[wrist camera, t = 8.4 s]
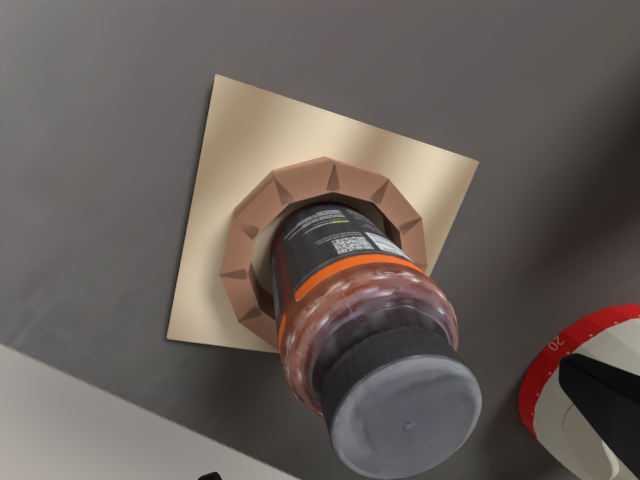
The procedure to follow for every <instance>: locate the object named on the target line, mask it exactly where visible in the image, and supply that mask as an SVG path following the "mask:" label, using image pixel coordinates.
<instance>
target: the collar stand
mask: <svg viewBox="0 0 640 480" xmlns="http://www.w3.org/2000/svg"><path fill="white" fill-rule="evenodd" d="M478 164H479V161H476V160H473V159H470V158H467V157H464V156H461V155H458V154H455V153H452V152H449V151H446V150H443V149H440V148H437V147H434V146H431V145H428V144H425V143H422V142H419V141H416V140H413V139H410V138H407V137H404V136H401V135H398V134H395V133H392V132H389V131H386V130H383V129H380V128H377V127H374V126H371V125H368V124H365V123H362V122H359V121H356V120H353V119H350V118H347V117H344V116H341V115H338V114H335V113H332V112H329V111H326V110H323V109H320V108H317V107H314V106H311V105H308V104H305V103H302V102H299V101H296V100H293V99H290V98H287V97H284V96H281V95H278V94H275V93H272V92H269V91H266V90H263V89H260V88H257V87H254V86H251V85H248V84H245V83H242V82H239V81H236V80H233V79H230V78H227V77H224V76H221V75H218V74H216V75H215V80H214V86H213V91H212V96H211V102H210V107H209V113H208V118H207V123H206V129H205V134H204V140H203V145H202V150H201V156H200V161H199V166H198V172H197V177H196V183H195V188H194V193H193V199H192V204H191V210H190V215H189V220H188V226H187V231H186V236H185V242H184V247H183V253H182V258H181V263H180V269H179V274H178V280H177V285H176V290H175V296H174V301H173V307H172V312H171V317H170V323H169V328H168V333H167V339H172V340H179V341H187V342H195V343H202V344H210V345H218V346H226V347H233V348H241V349H249V350H256V351H264V352H272V353H279V354H280V351H279V342H278V335H277V328H276V316H275V308H274V299H273V289H272V281H271V271H270V247H271V243H272V240H273V238H274V235H275V233H276V231H277V230H278V228H279V227H280V225H281V224H282V222H283V221H284V220H285V219H286V218H287V217H288V216H289V215H290V214H292V213H293V212H294V211H296V210H298V209H300V208H301V207H304V206H306V205H309V204H312V203H316V202H322V201H325V202H328V201H330V202H340V203H343V204H346V205H348V206H350V207H352V208H354V209H356V210H357V211H359V212H360V213H362V214H363V215H364V216H365V217H367V218H368V219H369V220H370V221H371V222H372V223H373V224H374V225H375V226H376V227H377V228H378V229H379V230H380V231H381V232H382V233H383V234H384V235H385V236H386V237H387V238H389V239H390V240H391V241H392V242H393V243H394V244H395V245H396V246H397V247H398V248H399V249H400V250H401V251H402V252H403V253H404V254H405V255H406V256H408V257H409V258H410V259H411V260H412V261H413V262H414V263H415V264H416V265H417V266H418V267H419V268H420V269H421V270H422V271H423V272H424V273H425V274H426V275H427V276H428V277H429V276H430V274H431V272H432V270H433V267H434V265H435V263H436V260H437V258H438V256H439V253H440V251H441V249H442V247H443V244H444V242H445V240H446V237H447V235H448V233H449V231H450V228H451V226H452V224H453V221H454V219H455V217H456V214H457V212H458V210H459V208H460V205H461V203H462V201H463V198H464V196H465V194H466V191H467V189H468V187H469V185H470V182H471V180H472V178H473V175H474V173H475V171H476V169H477V166H478Z"/></svg>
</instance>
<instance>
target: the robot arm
mask: <svg viewBox="0 0 640 480" xmlns="http://www.w3.org/2000/svg"><path fill="white" fill-rule="evenodd" d="M558 381H559V384H560V387H561V388H562V390H563V391H564V393H565V394H566V395H567V396H568V398H569V399H570V400H571V401H572V403H573V404H574V405H575V406H576V408H577V409H578V410H579V411H580V413H581V414H582V415H583V416H584V418H585V419H586V420H587V421H588V423H589V424H590V425H591V427H592V428H593V429H594V430H595V432H596V433H597V434H598V435H599V437H600V438H601V439H602V440H603V441H604V443H605V444H606V445H607V446H608V447H609V449H610V450H611V451H612V452H613V453H614V454H615V455H616V456H617V457H618V458H619V460H620V461H621V462H622V463H623V464H624V465H625V466H626V467H627V468H628V469H629V470H630V471H631V472H632V473H633V475H634V476H635V477H636V478H637V479H638V480H640V376H639V375H636V374H633V373H631V372H628V371H625V370H623V369H620V368H617V367H615V366H612V365H609V364H606V363H604V362H601V361H598V360H596V359H593V358H590V357H588V356H585V355H582V354H579V353H572V354H569V355H566V356H563V357H561V359H560V361H559V375H558ZM198 480H222V479H221V477H220V475H219V474H218V473H217V472H212V473H209V474H206V475H203V476H201V477H200V478H199V479H198Z"/></svg>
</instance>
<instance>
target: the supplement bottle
mask: <svg viewBox="0 0 640 480" xmlns="http://www.w3.org/2000/svg"><path fill="white" fill-rule="evenodd" d="M270 271H271V281H272V289H273V299H274V308H275V316H276V328H277V335H278V342H279V351H280V358H281V364H282V368H283V372H284V376H285V378H286V381H287V383H288V385H289V387H290V389H291V390H292V392H293V394H294V396H295V397H297V399H298V400H299V401H300V403H301V404H303V405H304V406H305V407H306V408H308V409H309V410H310V411H312V412H313V413H314V414H315V415H317V416H319V417H321V418H323V419H325V421H326V424H327V428H328V432H329V437H330V441H331V446H332V448H333V450H334V452H335V454H336V455H337V457H338V458H339V460H340V461H341V462H342V463H343V464H344V465H345V466H346V467H348V468H349V469H350V470H352V471H354V472H356V473H357V474H359V475H363V476H367V477H370V478H377V479H384V480H390V479H397V478H405V477H408V476H412V475H415V474H419V473H422V472H424V471H426V470H428V469H431V468H433V467H435V466H437V465H439V464H440V463H442V462H443V461H444V460H446V459H447V458H448V457H450V456H451V455H452V454H453V453H455V452H456V451H457V450H458V449H459V448H460V447H461V446H462V445H463V444H464V443H465V441H466V440H467V439H468V437H469V436H470V434H471V433H472V431H473V430H474V428H475V426H476V424H477V421H478V418H479V415H480V411H481V407H482V397H481V391H480V388H479V385H478V382H477V380H476V378H475V376H474V375H473V374H472V372H471V371H470V370H469V368H468V367H467V366H466V364H465V363H464V362H463V361H462V360H461V359H460V357H459V356H458V355H457V353H456V352H457V347H458V337H459V336H458V326H457V320H456V317H455V313H454V310H453V308H452V306H451V304H450V301H449V300H448V298H447V297H446V296H445V294H444V292H443V291H442V290H441V289H440V288H439V287H438V285H437V284H436V283H435V282H434V281H433V280H432V279H431V278H429V277H428V276H427V275H426V274H425V273H424V272H423V271H422V270H421V269H420V268H419V267H418V266H417V265H416V264H415V263H414V262H413V261H412V260H411V259H410V258H409V257H408V256H406V255H405V254H404V253H403V252H402V251H401V250H400V249H399V248H398V247H397V246H396V245H395V244H394V243H393V242H392V241H391V240H390V239H389V238H387V237H386V236H385V235H384V234H383V233H382V232H381V231H380V230H379V229H378V228H377V227H376V226H375V225H374V224H373V223H372V222H371V221H370V220H369V219H368V218H367V217H365V216H364V215H363V214H362V213H360V212H359V211H357V210H356V209H354V208H352V207H350V206H348V205H346V204H343V203H340V202H330V201H328V202H325V201H322V202H316V203H312V204H309V205H306V206H304V207H301V208H300V209H298V210H296V211H294V212H293V213H292V214H290V215H289V216H288V217H287V218H286V219H285V220H284V221H283V222H282V224H281V225H280V227H279V228H278V230H277V231H276V233H275V235H274V238H273V240H272V243H271V247H270Z"/></svg>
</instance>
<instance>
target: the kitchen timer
mask: <svg viewBox="0 0 640 480" xmlns="http://www.w3.org/2000/svg"><path fill="white" fill-rule="evenodd" d="M572 353H579V354H582V355H585V356H588V357H590V358H593V359H596V360H598V361H601V362H604V363H606V364H609V365H612V366H615V367H617V368H620V369H623V370H625V371H628V372H631V373H633V374H636V375H639V376H640V306H638V305H633V304H629V305H622V306H614V307H608V308H606V309H603V310H600V311H598V312H595V313H593V314H590V315H588V316H585V317H583V318H582V319H580V320H579V321H577V322H576V323H574V324H573V325H571V326H569V327H568V328H566V329H565V330H563V331H562V332H561V333H560V334H559V335H558V336H556V337H555V338H554V339H553V340H552V341H551V342H550V343H549V344H548V345H547V346H546V347H545V348H544V349H543V350H542V351H541V352H540V354H539V355H538V357H537V358H536V359H535V361H534V362H533V364H532V365H531V367H530V368H529V369H528V371H527V374H526V376H525V379H524V381H523V384H522V386H521V389H520V393H519V405H518V409H519V412H520V415H521V418H522V422H523V424H524V425H525V426H526V427H527V428H528V430H529V431H530V432H531V433H532V434H533V435H534V437H535V438H536V439H537V440H538V441H539V442H540V443H541V444H542V445H543V446H544V447H545V448H546V449H547V450H548V451H549V452H550V453H551V454H552V455H553V456H554V457H555V458H556V459H557V460H558V461H559V462H560V463H561V464H563V465H564V466H565V467H566V468H567V469H569V470H570V471H571V472H572V473H574V474H575V475H576V476H578V477H579V478H580V479H582V480H638V479H637V478H636V477H635V476H634V475H633V473H632V472H631V471H630V470H629V469H628V468H627V467H626V466H625V465H624V464H623V463H622V462H621V461H620V460H619V458H618V457H617V456H616V455H615V454H614V453H613V452H612V451H611V450H610V449H609V447H608V446H607V445H606V444H605V443H604V441H603V440H602V439H601V438H600V437H599V435H598V434H597V433H596V432H595V430H594V429H593V428H592V427H591V425H590V424H589V423H588V421H587V420H586V419H585V418H584V416H583V415H582V414H581V413H580V411H579V410H578V409H577V408H576V406H575V405H574V404H573V403H572V401H571V400H570V399H569V398H568V396H567V395H566V394H565V393H564V391H563V390H562V388H561V387H560V384H559V381H558V375H559V361H560V359H561V357H563V356H566V355H569V354H572Z"/></svg>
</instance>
